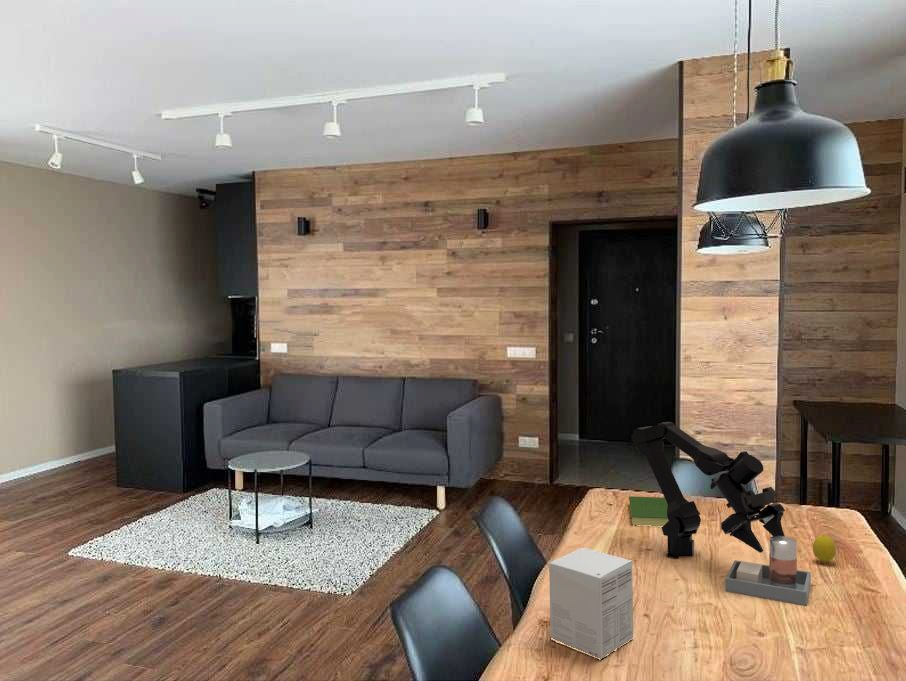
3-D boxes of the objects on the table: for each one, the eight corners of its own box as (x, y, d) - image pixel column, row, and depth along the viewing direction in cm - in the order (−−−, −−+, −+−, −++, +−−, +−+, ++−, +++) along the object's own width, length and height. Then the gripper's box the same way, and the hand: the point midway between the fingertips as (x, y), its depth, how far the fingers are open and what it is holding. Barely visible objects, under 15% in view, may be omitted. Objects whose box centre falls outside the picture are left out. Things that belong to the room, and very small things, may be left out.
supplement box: (635, 639, 151) (634, 560, 150) (601, 662, 142) (599, 577, 141) (584, 620, 160) (582, 546, 160) (548, 641, 151) (547, 561, 150)
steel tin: (777, 597, 168) (777, 544, 168) (764, 587, 175) (764, 536, 174) (801, 596, 169) (802, 543, 168) (787, 585, 175) (787, 535, 174)
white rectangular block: (736, 586, 175) (736, 571, 175) (741, 575, 182) (741, 560, 182) (758, 590, 173) (758, 574, 173) (762, 579, 180) (762, 564, 179)
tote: (725, 594, 173) (725, 578, 173) (734, 575, 185) (734, 560, 185) (806, 608, 164) (806, 592, 164) (810, 587, 176) (810, 572, 176)
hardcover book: (691, 530, 224) (691, 518, 223) (631, 527, 228) (631, 516, 227) (683, 507, 248) (683, 497, 248) (628, 506, 252) (628, 495, 252)
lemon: (838, 567, 189) (838, 538, 188) (816, 566, 190) (816, 537, 189) (831, 559, 194) (831, 531, 194) (810, 558, 195) (810, 530, 195)
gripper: (730, 482, 172) (770, 539, 164) (778, 472, 182) (818, 525, 173) (705, 506, 180) (741, 561, 171) (752, 495, 189) (789, 547, 180)
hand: (773, 548), depth 173 cm, fingers open, 9 cm apart
